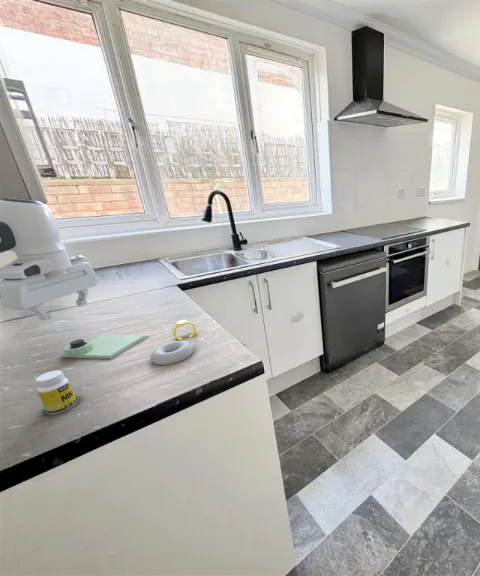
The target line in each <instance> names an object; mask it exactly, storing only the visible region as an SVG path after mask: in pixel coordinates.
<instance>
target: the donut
mask: <svg viewBox="0 0 480 576" xmlns="http://www.w3.org/2000/svg"><path fill="white" fill-rule="evenodd" d="M193 351H194V346H193V344H192V343H191V342H190V341H187V340H173V341H169V342H166V343H163V344H161V345H159V346H157V347H156V348H155V349H153V350H152V352H151V354H150V360H151V362H152V363H153V364H154V365H158V366H167V365H174V364H176V363H180V362H182V361H184V360H185V359H187V358H189V357H190V356H191V355H192V353H193Z"/></svg>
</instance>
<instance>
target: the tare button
mask: <svg viewBox="0 0 480 576" xmlns="http://www.w3.org/2000/svg"><path fill="white" fill-rule="evenodd" d="M69 345H70V346H71V348H73V349H74V348H79V347H82V346H84V345H86V343H85V339H83V338H80V339H79V338H78V339H75V340H73V341H70V342H69Z"/></svg>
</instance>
